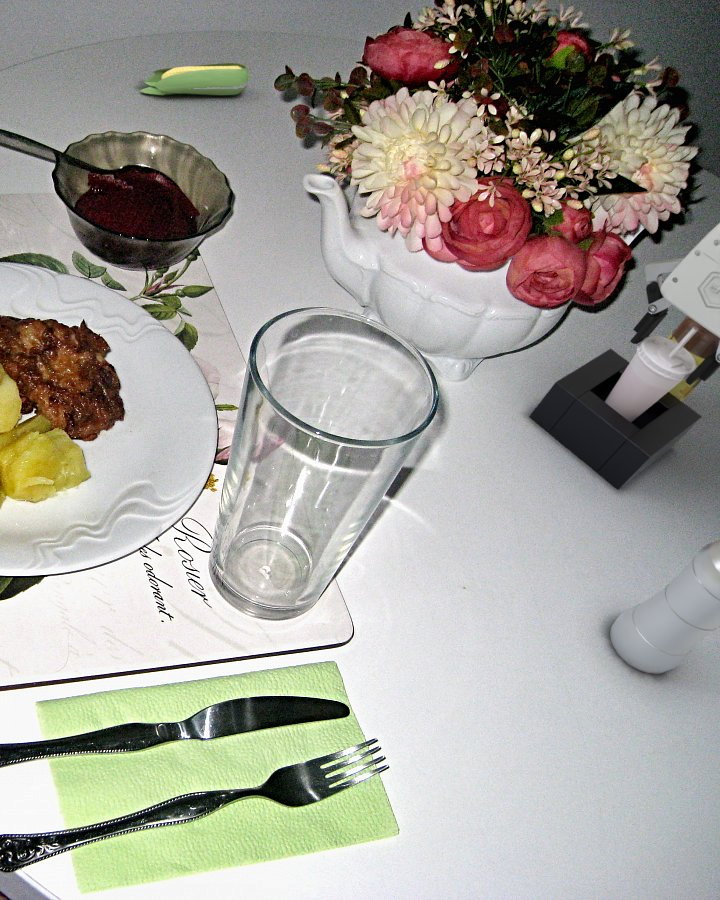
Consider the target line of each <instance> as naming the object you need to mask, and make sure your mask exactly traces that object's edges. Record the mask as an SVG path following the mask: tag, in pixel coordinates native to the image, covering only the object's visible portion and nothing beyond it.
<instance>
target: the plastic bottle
mask: <svg viewBox="0 0 720 900" xmlns="http://www.w3.org/2000/svg"><path fill="white" fill-rule="evenodd" d="M718 629H720V539H719V540H715V541H713V542H710V543H707V544H706V545H704V546H703V547H702V548H701V549H700V550H699V551H698V552H697V553H696V554H695V555H694V556H693V557H692V559H691V560H690V561H689V562H688V563H687V565H686V566H685V567H684V568H683V570H682V571H681V572H680V573H679V574H678V575H676V576H675V578H673V579H672V580H671V581H670V583H668V584H667V585H665V587H664V588H663V589H662V590H660V591H658V592H657V593H655V594H653V595H652V596H651V597H649V598H647V599H646V600H644V601H643V602H641V603H638V604H635V605H634V606H632V607H629V608H628V609H626V610H625V611H623V612H622V613H620V614H619V616H618V617H617V618H616V619H615V621H614V622H613V624H612V625H611V626H610V642H611V644H612V647H613V648H614V650H615V652H616V653H617V655H618V656H619V657H620V658H621V659H622V660H623V661H624V662H625V663H627V664H628V665H629V666H631V667H633V668H634V669H636V670H638V671H640V672H644V673H647V674H655V675H656V674H663V673H665V672H668V671H670V670H673V669H676V668H677V667H679V666H680V665H681V664H682V663H683V662H684V661H685V660H686V659H687V658H688V657H689V655H690V654H691V652H692V651H693V650H694V649H695V648H696V647H697V646H698V645H700V643H702V641H703V640H705V639H706V638H707V637H708V636H709V635H711V633H713V632H715V631H716V630H718Z"/></svg>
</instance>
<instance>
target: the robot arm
mask: <svg viewBox="0 0 720 900" xmlns="http://www.w3.org/2000/svg"><path fill="white" fill-rule="evenodd" d="M644 274H645V275H644V276H645V277H644V278H645V283H646V287H645V292H646V297H647V304H648V305H647V307H646V311H647V312H646V313H645V314H644V315H643V317H642V318H641V319H640V320H639V322H637V324H636V325H635V326H634V327H633V329H632V330H633V331H634V332H635V334H634V336H633V337H632V338H631V339H630V341H629V342H630V343H631V344H633V345H638V344H639V343H640V342H641V341H642V340H643V339H644V338H645V337H648V336H651V335H652V334H653V332H654V331H655V330H656V328H657V327H658V326H659V324H661V323H662V321H663V320H664V319H665V318H666V317H667V315H668V314H669V313H668V311H669V308H670V307H674V308H676V310H679V311H680V312H682V313H683V314H684V315H686V316H689V317H690V318H691V319H693V320H694V321H696V322H697V323H699V324H700V325H701V326H703V327H704V328H706V329H707V330H709V331H710V332H712V333H713V334H715V335H716V336H718V337H719V338H720V222H718V224H717V225H716V226H715V227H713V228H712V229H711V230H710V231H709V232H708V233H706V234H705V236H704V237H703V238H701V240H700V241H699V242H697V244H696V245H695V246H694V247H693V248H692V249H691V250H690V251H689V253H688V254H686V256H685V257H680V258H679V257H678V258H671V259H662V260H653V261H651V262H649V263H647V264H645V266H644ZM664 274H668V275H667V277H666V278H665V279H664V281H663V275H664ZM719 368H720V342H719V345H718V349H717V350H716V351H714V352H713V353H712V354H710V355H709V356H708V357H706V358H705V360H704V361H703V362H702V363H701V364H700V365H699V366H698V367H697V368H696V369H695V370H694V371H693V372H692V373H691V374H690V376H689V377H688V378H687V379H686V380H685V381H686V383H687V384H689V385H691V384H693V383H694V382H695V381H697V380H698V379H699V378H700V379H701V380H702V382H706V381H707V380H708V379H710V378H711V377H712V376H713V375H714V373H715V372H716V371H718V370H719Z"/></svg>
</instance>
